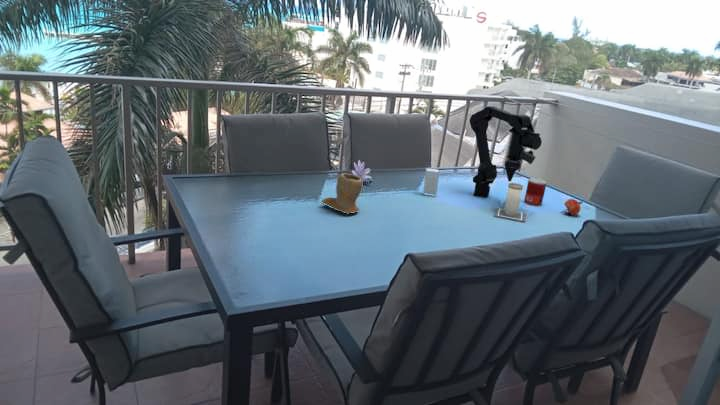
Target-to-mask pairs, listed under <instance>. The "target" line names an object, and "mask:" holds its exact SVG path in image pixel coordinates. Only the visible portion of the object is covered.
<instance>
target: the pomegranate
mask: <svg viewBox="0 0 720 405" xmlns="http://www.w3.org/2000/svg"><path fill="white" fill-rule="evenodd" d="M581 204H583V201H578V200H576V199H574V198H573V199H572V198H569V199H567V201H565V202H564V206H565V207H566V209H564V210H563V211H560V213H563V212H566V211H568V213H569V214H570V215H571V216H576V215H578V214H580V211H581V209H582V208H581Z"/></svg>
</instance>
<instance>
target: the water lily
mask: <svg viewBox="0 0 720 405" xmlns="http://www.w3.org/2000/svg"><path fill="white" fill-rule="evenodd" d="M353 166H354V169H353V170H351V174H352V175H355V176H358V177H360V178H361V179H362V180H363V182H365V180H364V179H366V178H370V179H372V176H370V175H368V174H370V172H371V169H370V168H369V167H368V168H365V161H362V162H361V160H360V159H359V160H358V162H357V163H356V162H353ZM366 180H367V179H366Z"/></svg>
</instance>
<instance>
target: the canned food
mask: <svg viewBox="0 0 720 405" xmlns="http://www.w3.org/2000/svg"><path fill="white" fill-rule="evenodd" d="M546 187H547V181H546V180H544V179H540V178H533V177H532V178H529V179H528V182H527V186H526V190H525V196H524V203H525V204H528V205H531V206H541V205H543V204H542V203H543V201H544V196H545V192H546Z"/></svg>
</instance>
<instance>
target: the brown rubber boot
mask: <svg viewBox="0 0 720 405" xmlns="http://www.w3.org/2000/svg"><path fill="white" fill-rule="evenodd" d="M363 182H364V180H363V179H361V178H360V177H358V176H356V175H354V174H353V173H346V172H343V173H341V174H339V175H338V176H337V182H336V197H326V198H324V199H322V200H321V201H320V203H321V202H323V203H325V204H327V205H329V206H331V207H333V208H335V209H337V210H339V211H341V212H345V213H351V212H356V211H358V210H359V211H360V208H359V207H358V206H357V204H356V203H357V202H356V201H357V200H358V198H359V195H360V194H361V192H362V188H363V187H362V186H363ZM359 211H358V212H359ZM341 212H340V213H341Z"/></svg>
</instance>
